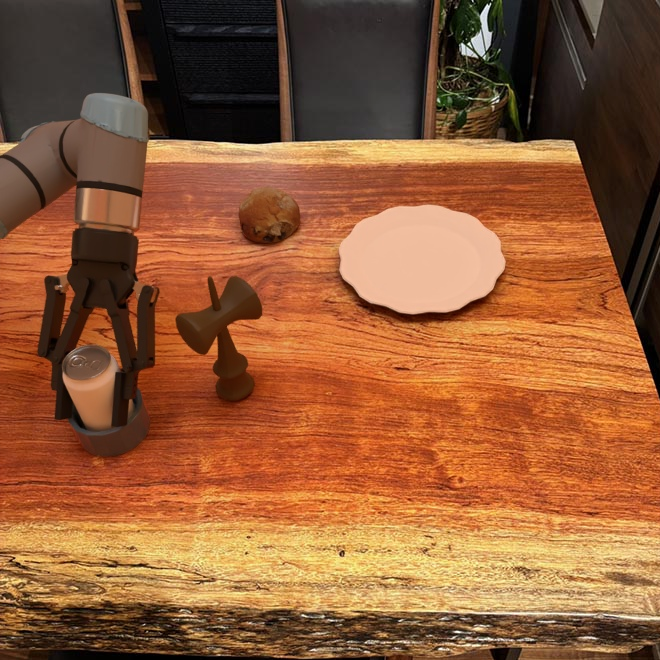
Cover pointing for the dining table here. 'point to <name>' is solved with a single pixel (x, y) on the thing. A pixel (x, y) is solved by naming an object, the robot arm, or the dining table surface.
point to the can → (92, 385)
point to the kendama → (223, 334)
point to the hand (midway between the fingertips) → (91, 421)
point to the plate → (421, 259)
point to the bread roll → (268, 215)
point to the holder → (114, 432)
